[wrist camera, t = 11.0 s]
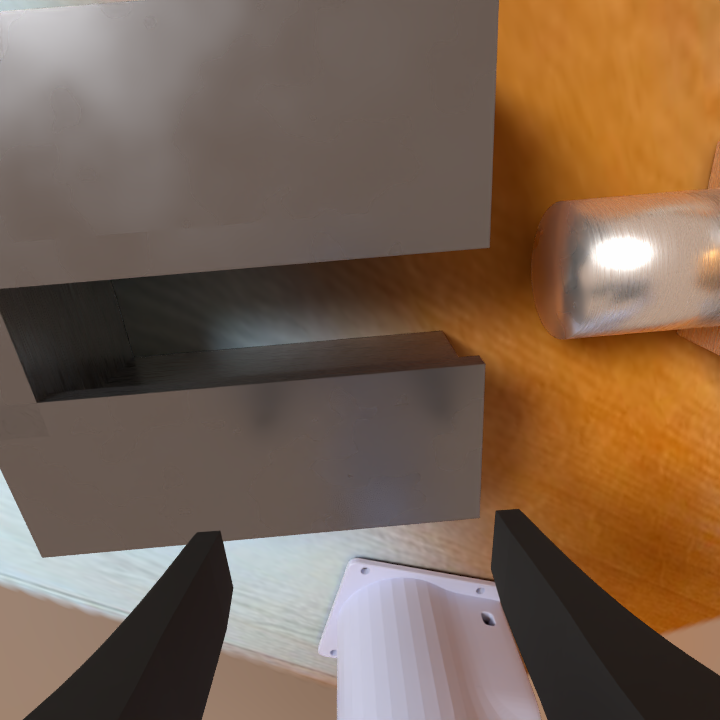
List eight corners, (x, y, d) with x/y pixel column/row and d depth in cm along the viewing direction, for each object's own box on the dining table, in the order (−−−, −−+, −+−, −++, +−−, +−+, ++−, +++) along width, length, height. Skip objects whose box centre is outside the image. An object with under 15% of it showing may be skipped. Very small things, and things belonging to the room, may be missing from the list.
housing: (120, 453, 23) (42, 557, 17) (-7, 78, 16) (-209, 27, 10) (442, 425, 23) (479, 517, 17) (440, 42, 16) (499, -28, 10)
